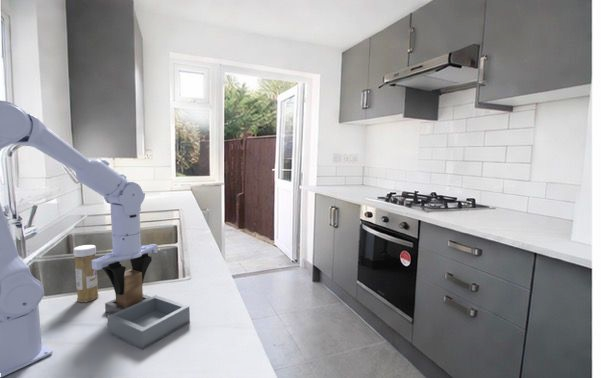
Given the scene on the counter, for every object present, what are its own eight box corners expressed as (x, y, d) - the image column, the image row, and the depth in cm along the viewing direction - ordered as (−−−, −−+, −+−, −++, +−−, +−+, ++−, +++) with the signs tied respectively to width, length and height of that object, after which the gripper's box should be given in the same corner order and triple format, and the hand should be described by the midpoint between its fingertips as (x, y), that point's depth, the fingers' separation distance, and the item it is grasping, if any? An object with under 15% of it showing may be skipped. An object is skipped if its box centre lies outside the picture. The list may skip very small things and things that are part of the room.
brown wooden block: (126, 307, 69) (125, 277, 68) (116, 303, 71) (114, 274, 70) (142, 300, 73) (141, 272, 72) (132, 296, 75) (131, 269, 74)
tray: (143, 349, 57) (142, 331, 56) (108, 333, 62) (107, 316, 61) (189, 322, 66) (189, 306, 66) (156, 309, 71) (155, 295, 71)
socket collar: (124, 319, 67) (124, 310, 67) (105, 311, 71) (105, 303, 70) (153, 305, 74) (153, 297, 73) (134, 298, 77) (134, 291, 77)
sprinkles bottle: (98, 300, 76) (95, 247, 75) (76, 304, 74) (72, 250, 72) (98, 293, 80) (95, 243, 79) (77, 297, 77) (73, 245, 76)
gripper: (104, 243, 62) (107, 306, 63) (165, 229, 75) (166, 282, 76) (84, 238, 65) (88, 299, 67) (146, 225, 78) (148, 277, 79)
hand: (129, 290), depth 72 cm, fingers closed on brown wooden block, 4 cm apart
